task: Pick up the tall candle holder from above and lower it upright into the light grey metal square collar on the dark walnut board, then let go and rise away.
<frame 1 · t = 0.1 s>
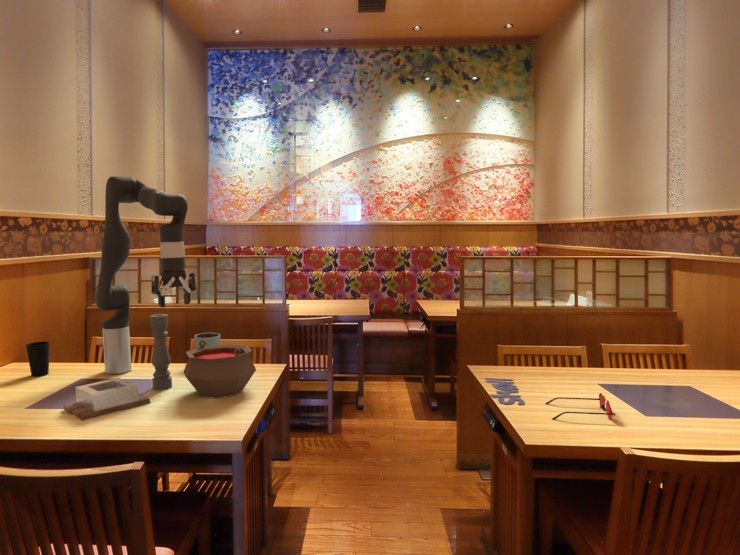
hand: (174, 305, 175), 29 cm above the table, tool pointing down, fingers open, 8 cm apart
candle holder: (162, 387, 185), on the table
cup: (40, 375, 204), on the table
grey cylindrical container: (208, 364, 216), on the table
glasses: (578, 414, 154), on the table
signage: (503, 392, 176), on the table
square collar: (106, 393, 165), on the socket board, point 4 cm above the table
socket board: (107, 406, 165), on the table
brown cauldron: (220, 391, 179), on the table
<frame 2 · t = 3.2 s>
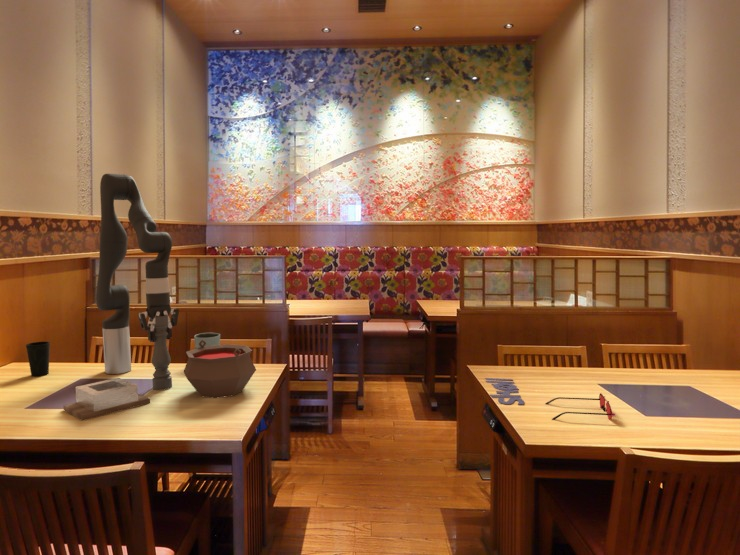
hand: (160, 340, 183), 16 cm above the table, tool pointing down, fingers closed on candle holder, 5 cm apart
candle holder: (162, 387, 185), on the table, touching gripper
everything else where it was.
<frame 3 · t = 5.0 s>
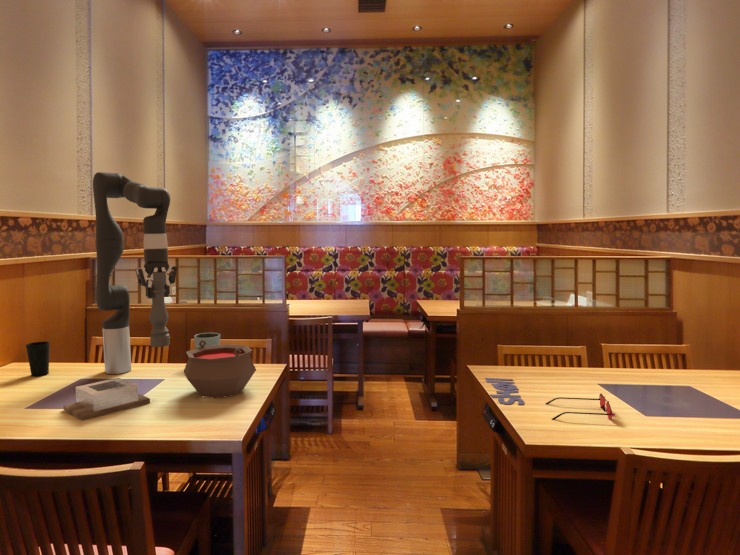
hand: (158, 297, 182), 31 cm above the table, tool pointing down, fingers closed on candle holder, 5 cm apart
candle holder: (160, 345, 184), point 15 cm above the table, touching gripper
everything else where it was.
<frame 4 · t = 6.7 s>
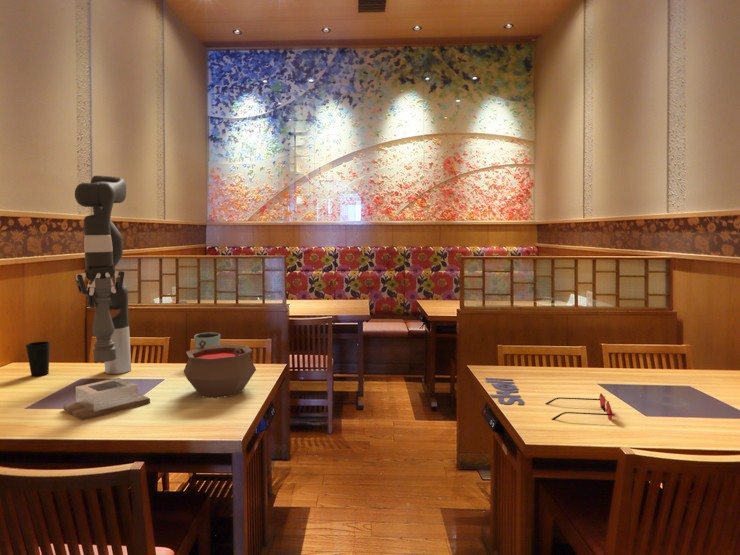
hand: (101, 306, 163), 31 cm above the table, tool pointing down, fingers closed on candle holder, 5 cm apart
candle holder: (105, 360, 164), point 14 cm above the table, touching gripper
everything else where it was.
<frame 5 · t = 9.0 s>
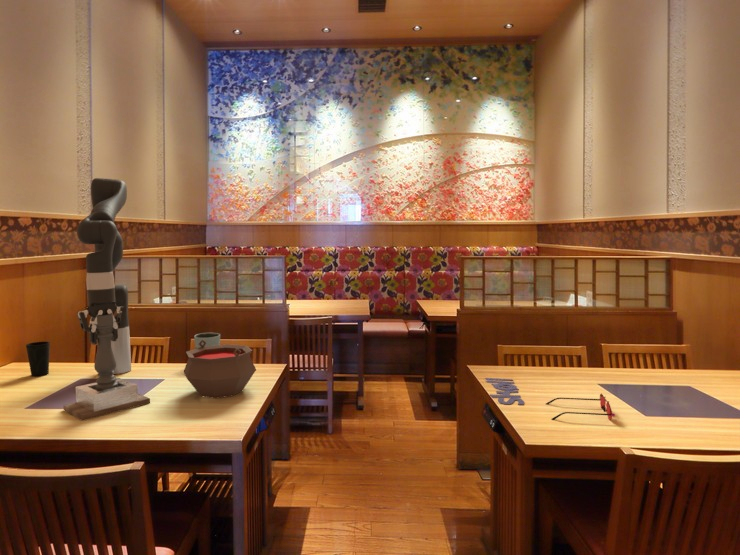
hand: (104, 342, 164), 20 cm above the table, tool pointing down, fingers closed on candle holder, 5 cm apart
candle holder: (107, 395, 165), point 3 cm above the table, touching gripper
everything else where it was.
when the fingers open (19 cm above the table, at t = 10.6 s): candle holder stays where it is, resting on socket board.
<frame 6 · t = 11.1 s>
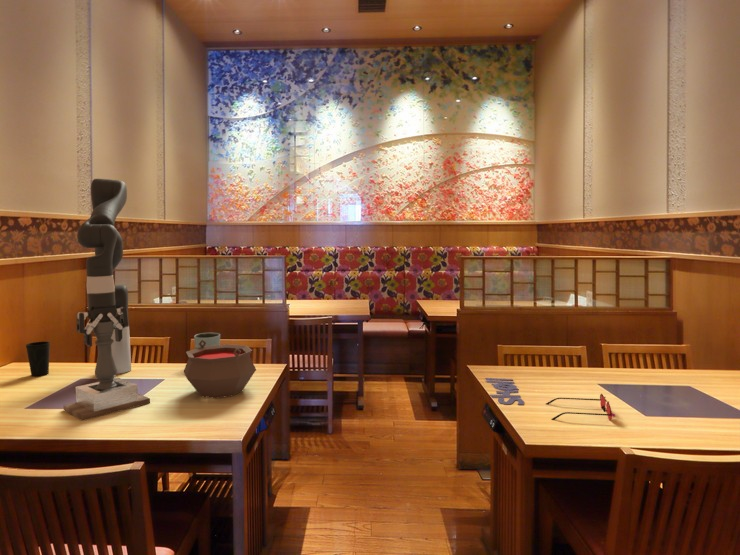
hand: (104, 343, 163), 20 cm above the table, tool pointing down, fingers open, 8 cm apart
candle holder: (107, 402, 165), point 1 cm above the table, touching socket board
everything else where it was.
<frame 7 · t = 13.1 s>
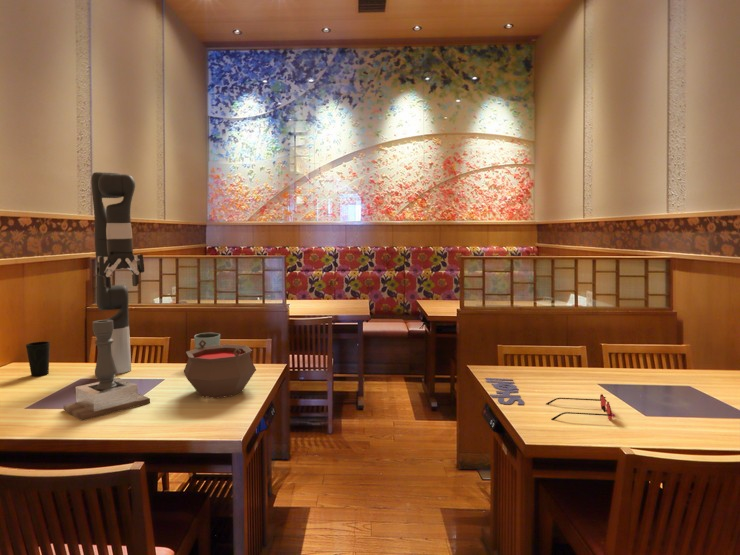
hand: (121, 287, 174), 36 cm above the table, tool pointing down, fingers open, 8 cm apart
nothing on the table moved.
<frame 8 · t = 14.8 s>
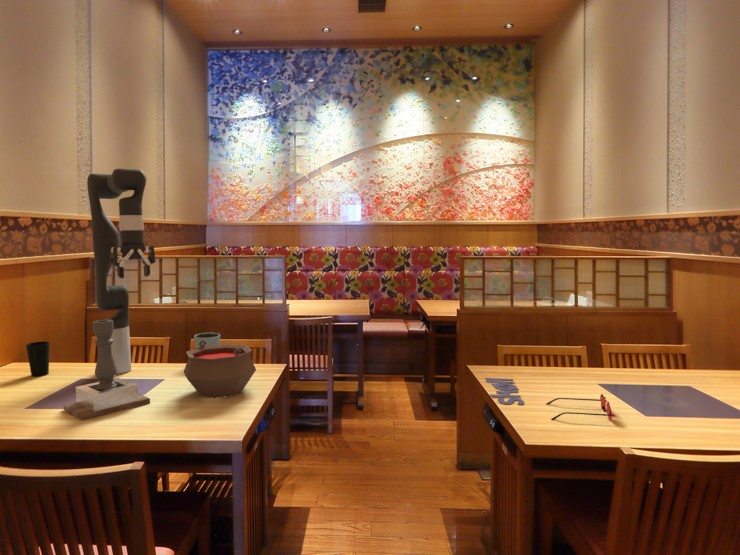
hand: (134, 277, 182), 38 cm above the table, tool pointing down, fingers open, 8 cm apart
nothing on the table moved.
at the end: candle holder 0.1 cm off-centre on the square collar, point 1.3 cm above the square collar's base; candle holder tilted 0°; the gripper is holding nothing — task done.
